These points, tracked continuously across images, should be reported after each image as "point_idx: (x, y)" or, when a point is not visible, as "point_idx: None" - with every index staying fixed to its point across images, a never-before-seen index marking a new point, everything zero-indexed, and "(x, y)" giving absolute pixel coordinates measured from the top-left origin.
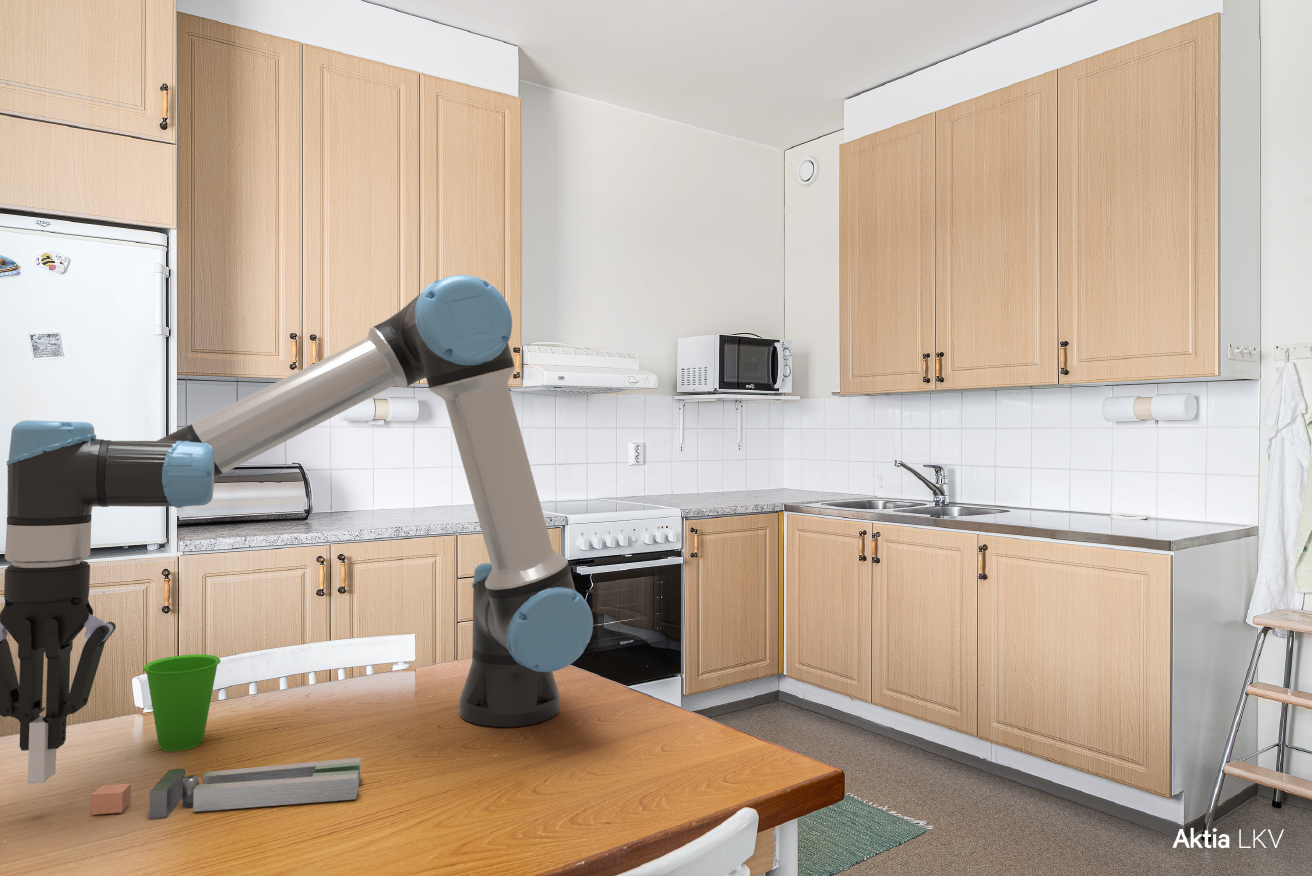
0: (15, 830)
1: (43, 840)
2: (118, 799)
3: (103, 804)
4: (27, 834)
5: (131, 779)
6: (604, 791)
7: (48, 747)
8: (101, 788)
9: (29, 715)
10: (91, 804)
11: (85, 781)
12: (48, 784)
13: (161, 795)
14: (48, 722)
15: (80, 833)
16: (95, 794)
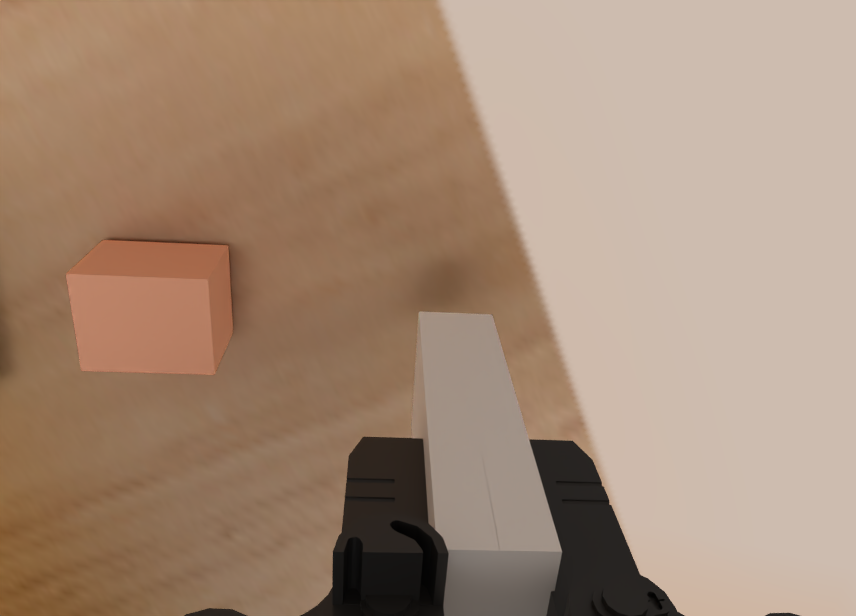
0: (486, 178)
1: (329, 39)
2: (94, 260)
3: (167, 258)
4: (423, 124)
5: (233, 548)
6: None
7: (417, 445)
8: (194, 340)
9: (583, 612)
10: (216, 260)
11: None
12: None
13: None
14: (391, 518)
15: (196, 75)
16: (189, 277)
